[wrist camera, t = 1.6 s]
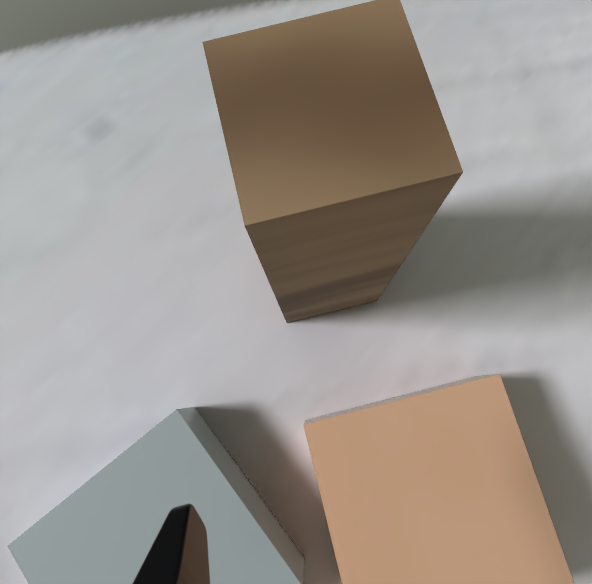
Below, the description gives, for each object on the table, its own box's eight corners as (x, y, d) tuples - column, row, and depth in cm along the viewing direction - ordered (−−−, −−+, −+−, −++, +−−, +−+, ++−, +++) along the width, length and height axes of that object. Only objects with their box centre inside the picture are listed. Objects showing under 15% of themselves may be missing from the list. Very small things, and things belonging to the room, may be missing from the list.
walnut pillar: (377, 300, 23) (463, 171, 10) (286, 322, 23) (244, 225, 10) (352, 216, 24) (398, -5, 11) (266, 237, 24) (202, 42, 11)
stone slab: (304, 558, 21) (302, 586, 18) (151, 694, 20) (122, 748, 17) (194, 407, 22) (176, 409, 20) (49, 525, 21) (7, 545, 19)
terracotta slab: (541, 567, 20) (579, 598, 17) (353, 617, 20) (359, 655, 17) (475, 376, 22) (499, 374, 19) (305, 420, 22) (303, 424, 19)
